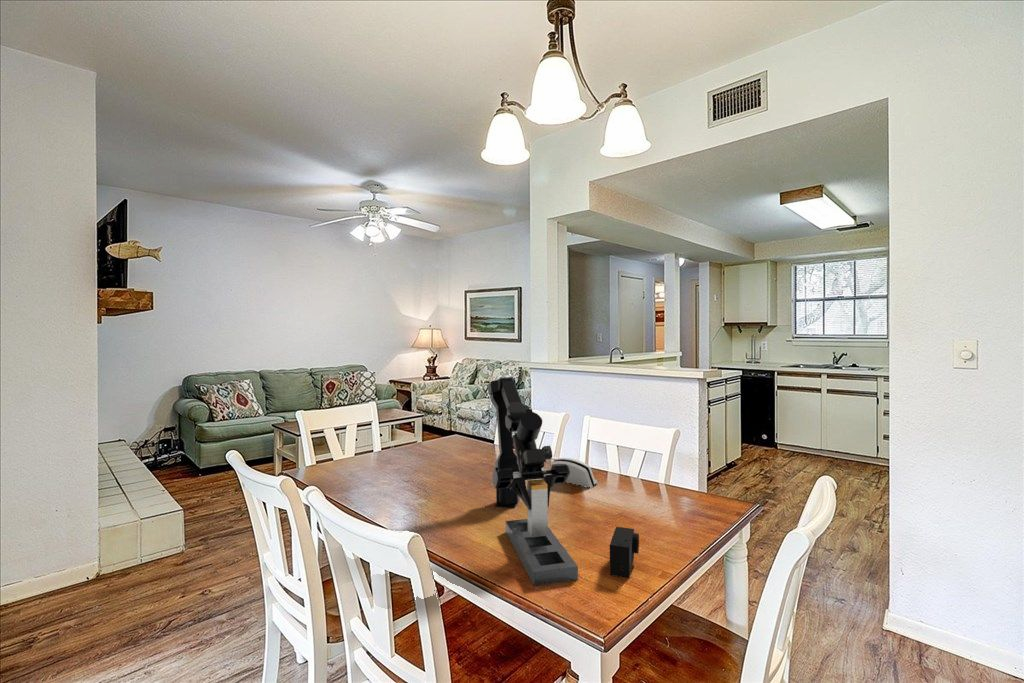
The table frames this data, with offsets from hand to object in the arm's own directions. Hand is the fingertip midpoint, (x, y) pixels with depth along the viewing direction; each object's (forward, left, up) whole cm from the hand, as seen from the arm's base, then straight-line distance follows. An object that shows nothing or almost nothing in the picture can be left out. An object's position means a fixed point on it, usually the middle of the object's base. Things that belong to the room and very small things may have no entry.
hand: (538, 508), depth 115 cm
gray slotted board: (-1, +1, -12) cm, 12 cm away
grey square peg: (-1, +1, -7) cm, 7 cm away
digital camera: (+20, 0, -12) cm, 23 cm away
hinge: (+1, +56, -12) cm, 57 cm away
